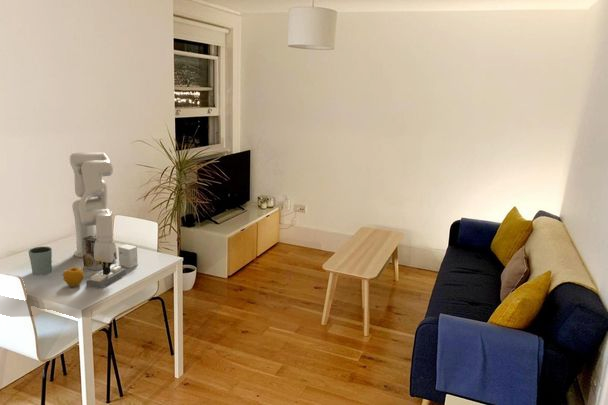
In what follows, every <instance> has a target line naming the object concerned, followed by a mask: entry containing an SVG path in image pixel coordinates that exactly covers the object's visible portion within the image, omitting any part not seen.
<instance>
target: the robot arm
mask: <svg viewBox="0 0 608 405" xmlns="http://www.w3.org/2000/svg"><path fill="white" fill-rule="evenodd" d="M69 163H70V167H71V168H72V171H73V174H74V193H75V195H76V196H77V198H80V199H76V200H75V201H73V202H72V206H71V207H72V212H73V216H74V223H75V224H74V225H75V241H76V250H75V251H74V252H73V254H74V257H78V258H83V250H82V239H83V238H85V237H88V236H95V237H96V238H97V240H96V241H95V245H94V259H95V260H96V261H97V262H100V264H101V266H102V267H103V268H102V271H103V275H107V274H109V273H110V266H112V265H115V264H117V259H118V254H117V252H118V251H117V244H116V242H115V240H114V222H113V220H114V219H113V212H112V211H111V209H109V208H108V187H107V183H106V181H105V180H103V178H102V177H110V176H112V175H113V173H114V169H113V168H114V167H113V164H112V162H111V160H110V159H109V157H108V155H107V154H106V153H105V152H104V151H103V152H101V151H98V152H97V151H95V152H94V151H93V152H91V151H90V152H88V151H87V152H85V151H83V152H74V153H71V154H70V156H69ZM95 233H96V234H95Z"/></svg>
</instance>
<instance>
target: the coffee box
mask: <svg viewBox="0 0 608 405" xmlns="http://www.w3.org/2000/svg"><path fill="white" fill-rule="evenodd" d="M96 240H97V238H96V237H95V236H88V237H85V238H83V239H82V250H83V257H82V259H83V261H82V262H83V268H84V269H88V270H93V271H99V270H101V269H102V270H103V267H102V266H101V264H100V262H97V261H96V260H95V259H94V245H95V241H96Z"/></svg>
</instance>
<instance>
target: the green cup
mask: <svg viewBox="0 0 608 405" xmlns="http://www.w3.org/2000/svg"><path fill="white" fill-rule="evenodd" d="M52 250H53V249H52V247H50V246H37V247H33V248H30V249H28V251H27V252H28V257H29V260H30V261H29V262H30V266H31V272H32V275H34V276H45V275H46V276H47V275H49V274H51V273H52V271H53V265H52V263H53V260H52V256H53V255H52V254H53V253H52V252H53V251H52Z"/></svg>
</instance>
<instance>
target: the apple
mask: <svg viewBox="0 0 608 405" xmlns="http://www.w3.org/2000/svg"><path fill="white" fill-rule="evenodd" d="M84 277H85V272H84V270H83V269H82V268H81V267H70V268H67V269H65V271H64V272H63V275H62V278H63V281H64V282H65V284H67V285H68V286H70V287H71V288H75V287H78V286H79V285H81V283H82V281H84V280H83V279H84Z"/></svg>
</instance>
